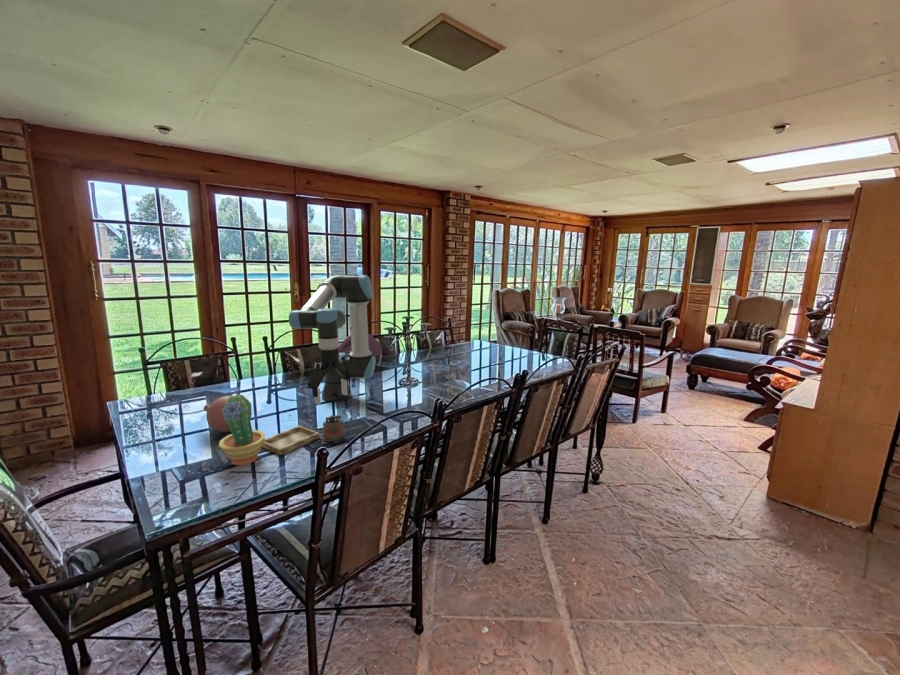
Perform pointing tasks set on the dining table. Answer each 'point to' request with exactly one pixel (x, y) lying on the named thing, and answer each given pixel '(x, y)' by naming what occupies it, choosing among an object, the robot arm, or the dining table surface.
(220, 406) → the brown rounded piece
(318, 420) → the dining table surface
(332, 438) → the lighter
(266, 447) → the tray
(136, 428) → the dining table surface
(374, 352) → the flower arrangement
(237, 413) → the potted cactus
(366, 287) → the robot arm
